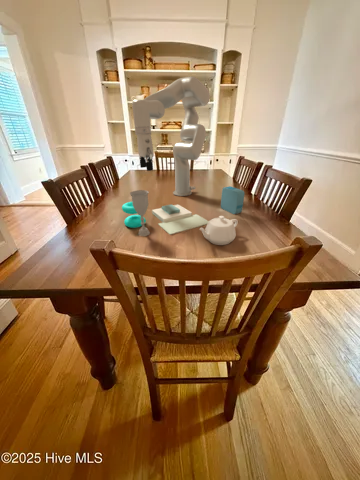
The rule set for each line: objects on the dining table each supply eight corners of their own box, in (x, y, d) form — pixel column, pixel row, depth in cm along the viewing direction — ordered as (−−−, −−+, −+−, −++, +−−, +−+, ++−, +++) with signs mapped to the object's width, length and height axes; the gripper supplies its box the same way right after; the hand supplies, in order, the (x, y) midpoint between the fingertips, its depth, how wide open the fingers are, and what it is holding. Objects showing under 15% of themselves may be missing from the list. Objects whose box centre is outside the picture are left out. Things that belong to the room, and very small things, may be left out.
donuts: (120, 208, 85) (122, 201, 93) (124, 229, 90) (125, 220, 98) (144, 207, 86) (143, 199, 95) (146, 227, 91) (145, 219, 100)
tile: (171, 206, 109) (171, 204, 108) (179, 212, 102) (179, 209, 101) (161, 209, 106) (161, 206, 105) (169, 214, 99) (169, 211, 99)
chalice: (138, 238, 82) (132, 196, 74) (133, 232, 88) (127, 191, 79) (154, 234, 85) (151, 193, 76) (149, 228, 91) (145, 189, 82)
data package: (241, 213, 105) (245, 191, 99) (235, 215, 103) (238, 192, 97) (226, 206, 114) (228, 185, 108) (220, 208, 112) (222, 186, 106)
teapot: (209, 254, 72) (211, 229, 67) (189, 240, 81) (189, 217, 76) (247, 239, 81) (251, 216, 76) (225, 227, 90) (227, 206, 85)
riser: (178, 207, 113) (178, 204, 112) (191, 216, 102) (191, 212, 101) (152, 213, 106) (151, 209, 105) (163, 223, 95) (163, 219, 94)
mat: (196, 214, 104) (196, 214, 103) (210, 223, 95) (210, 222, 94) (158, 224, 94) (157, 223, 94) (169, 234, 85) (169, 233, 85)
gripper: (157, 131, 90) (159, 171, 98) (144, 130, 103) (147, 165, 112) (141, 132, 87) (145, 172, 95) (130, 131, 100) (134, 167, 109)
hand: (146, 168), depth 104 cm, fingers open, 9 cm apart
